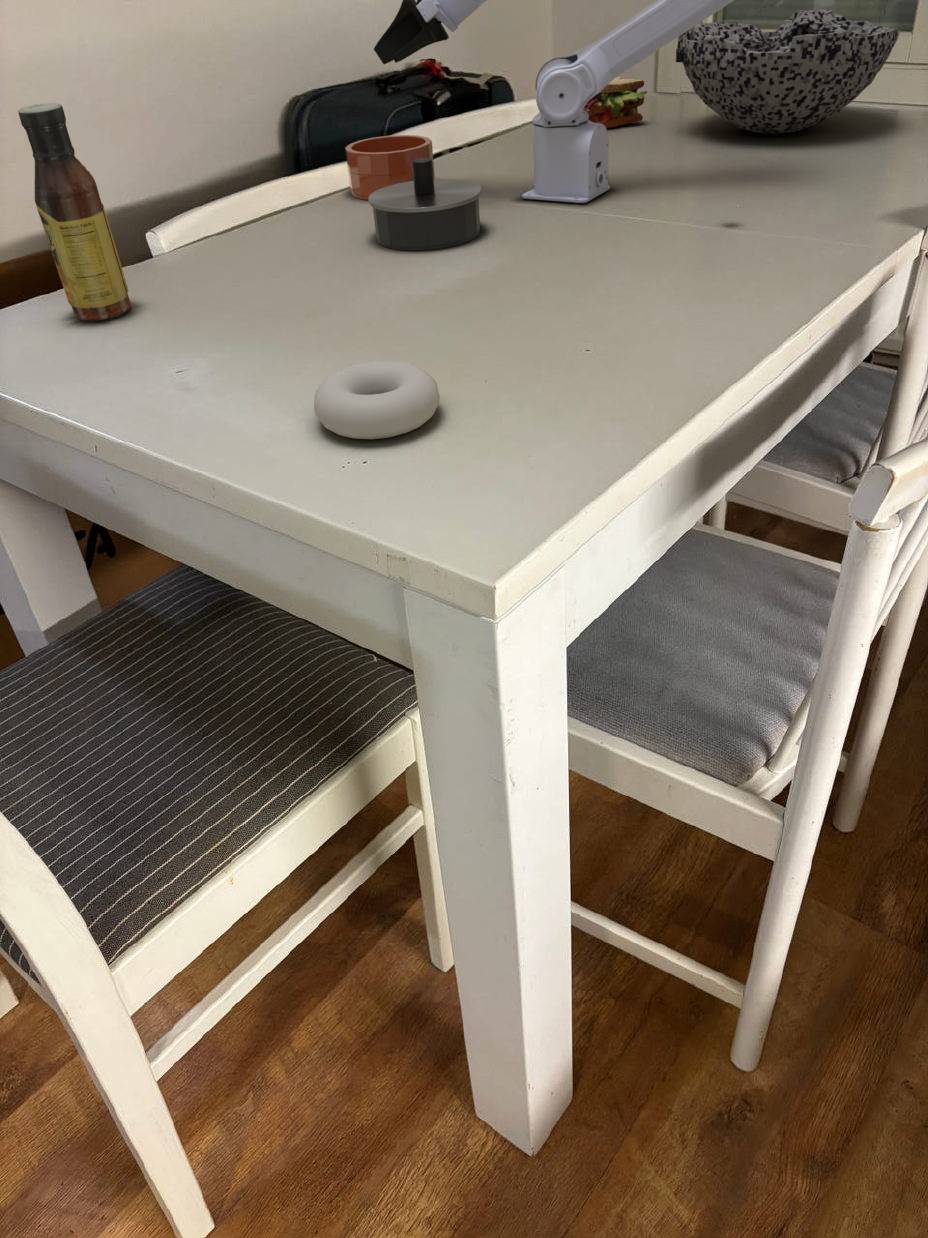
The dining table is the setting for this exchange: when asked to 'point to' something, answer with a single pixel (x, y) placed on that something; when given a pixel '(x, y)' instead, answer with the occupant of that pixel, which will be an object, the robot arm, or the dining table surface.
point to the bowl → (783, 68)
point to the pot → (384, 161)
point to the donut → (376, 399)
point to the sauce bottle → (74, 218)
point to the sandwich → (617, 103)
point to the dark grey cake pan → (427, 227)
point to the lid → (424, 192)
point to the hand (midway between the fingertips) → (385, 55)
